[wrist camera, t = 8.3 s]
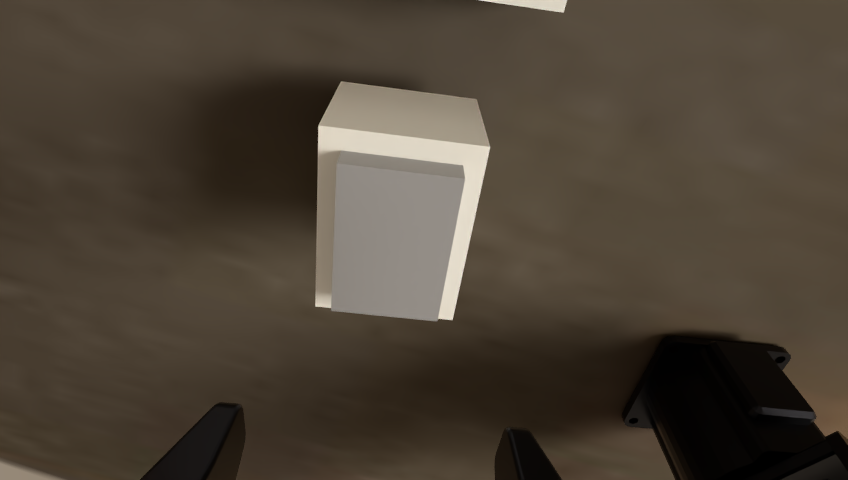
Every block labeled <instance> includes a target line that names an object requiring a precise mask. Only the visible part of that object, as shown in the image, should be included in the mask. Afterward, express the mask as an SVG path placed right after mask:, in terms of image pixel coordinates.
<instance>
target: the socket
mask: <svg viewBox="0 0 848 480" xmlns="http://www.w3.org/2000/svg"><path fill="white" fill-rule="evenodd" d="M481 1H488V2H495V3H502V4H508V5H515V6H522V7H529V8H536V9H543V10H549V11H556V12H563V13H564V9H565V6H566V2H567V0H481Z"/></svg>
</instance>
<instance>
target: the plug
mask: <svg viewBox="0 0 848 480" xmlns="http://www.w3.org/2000/svg"><path fill="white" fill-rule="evenodd" d="M489 150H490V145H489V141H488V138H487V134H486V131H485V127H484V123H483V120H482V116H481V113H480V109H479V106H478V102H477V99H471V98H464V97H456V96H449V95H441V94H433V93H426V92H418V91H411V90H403V89H396V88H388V87H380V86H373V85H365V84H358V83H350V82H343V81H341V82H340V84H339V86H338V88H337V90H336V92H335V94H334V96H333V98H332V100H331V102H330V104H329V106H328V108H327V109H326V111H325V113H324V115H323V117H322V119H321V121H320V123H319V125H318V179H317V241H316V304H315V306H317V307H327V308H331V311H339V312H349V313H359V314H369V315H379V316H389V317H399V318H409V319H419V320H429V321H438V319H447V320H453V316H454V311H455V307H456V302H457V297H458V293H459V288H460V284H461V279H462V274H463V270H464V265H465V260H466V256H467V251H468V247H469V242H470V237H471V233H472V228H473V224H474V219H475V214H476V210H477V205H478V201H479V196H480V191H481V187H482V182H483V177H484V173H485V168H486V164H487V159H488V154H489Z"/></svg>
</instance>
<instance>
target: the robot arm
mask: <svg viewBox="0 0 848 480" xmlns="http://www.w3.org/2000/svg"><path fill="white" fill-rule="evenodd" d="M790 359H791V356H790V354H789V353H788V352H787V351H786V350H785V349H784V348H783V347H777V346H767V345H757V344H748V343H738V342H728V341H718V340H708V339H698V338H688V337H678V336H670V337H667V338H665V339H664V340H662V342H661V343H660V345H659V347H658V349H657V351H656V352H655V354H654V356H653V358H652V360H651V362H650V364H649V365H648V367H647V369H646V371H645V373H644V375H643V377H642V378H641V380H640V382H639V384H638V386H637V388H636V389H635V391H634V393H633V395H632V397H631V399H630V401H629V402H628V404H627V406H626V408H625V410H624V412H623V414H622V418H623V421H624V423H625V425H627V426H630V427H641V428H652V429H653V430H654V433H655V435H656V437H657V439H658V442H659V444H660V446H661V448H662V451H663V453H664V455H665V457H666V460H667V462H668V464H669V466H670V469H671V471H672V473H673V475H674V478H675V480H848V439H847V438H846V437H844V436H843V435H842V434H841V433H840V432H839V431H836V432H834V433H832V434H830V435H828V436H826V437H825V436H824V435H823V433H822V432H821V431H820V430H819V428H818V427H817V426H816V424H815V423H814V422H813V421H814V420H815V419H816V414H815V413H814V411H813V409H812V408H811V407H810V405H809V404H808V403H807V402H806V400H805V399H804V398H803V397H802V395H801V394H800V393H799V391H798V390H797V389H796V388H795V386H794V385H793V384H792V383H791V381H790V380H789V379H788V377H787V376H786V375H785V374H784V372H783V371H782V370H783V369H784V367H785V366H786V365H787V364H788V362H789V361H790ZM244 443H245V423H244V413H243V408H242V406H241V405H240V404H236V403H224V402H220V403H217V404H216V405H214V406H213V407H212V408H211V409H210V410H209V411H208V412H207V413H206V414H205V415H204V416H203V417H202V418H201V419H200V420H199V421H198V422H197V423H196V424H195V425H194V426H193V427H192V428H191V429H190V430H189V431H188V432H187V433H186V434H185V435H184V436H183V437H182V438H181V439H180V440H179V441H178V442H177V443H176V444H175V445H174V446H173V447H172V448H171V449H170V450H169V451H168V452H167V453H166V454H165V455H164V456H163V457H162V458H161V459H160V460H159V461H158V462H157V463H156V464H155V465H154V466H153V467H152V468H151V469H150V470H149V471H148V472H147V473H146V474H145V475H144V476H143V477H142V478H141V479H140V480H236V476H237V472H238V468H239V464H240V460H241V456H242V452H243V448H244ZM495 480H562V479H561V477H560V476H559V474H558V473H557V471H556V470H555V468H554V467H553V465H552V464H551V462H550V461H549V459H548V458H547V456H546V455H545V453H544V452H543V450H542V449H541V447H540V446H539V444H538V443H537V441H536V439H535V438H534V436H533V435H532V433H531V432H530V431H529V430H527V429H525V428H514V427H507V428H506V429H505V430H504V432H503V435H502V438H501V440H500V443H499V446H498V449H497V452H496V456H495Z"/></svg>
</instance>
